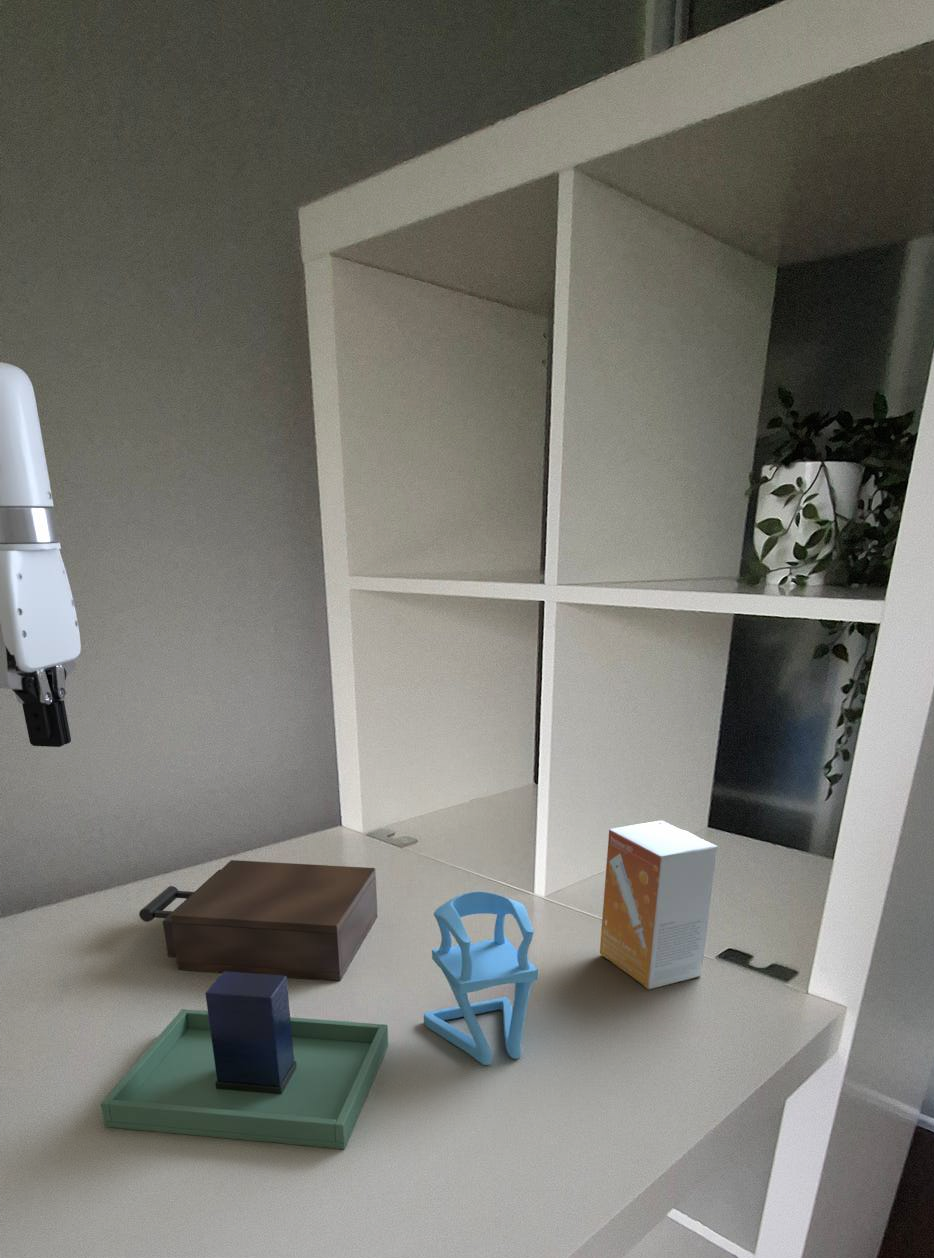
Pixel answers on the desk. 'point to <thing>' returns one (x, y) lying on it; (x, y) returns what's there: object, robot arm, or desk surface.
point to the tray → (302, 1115)
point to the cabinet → (277, 920)
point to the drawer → (166, 912)
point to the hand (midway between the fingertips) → (51, 744)
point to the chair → (482, 972)
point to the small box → (657, 902)
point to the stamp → (251, 1032)
